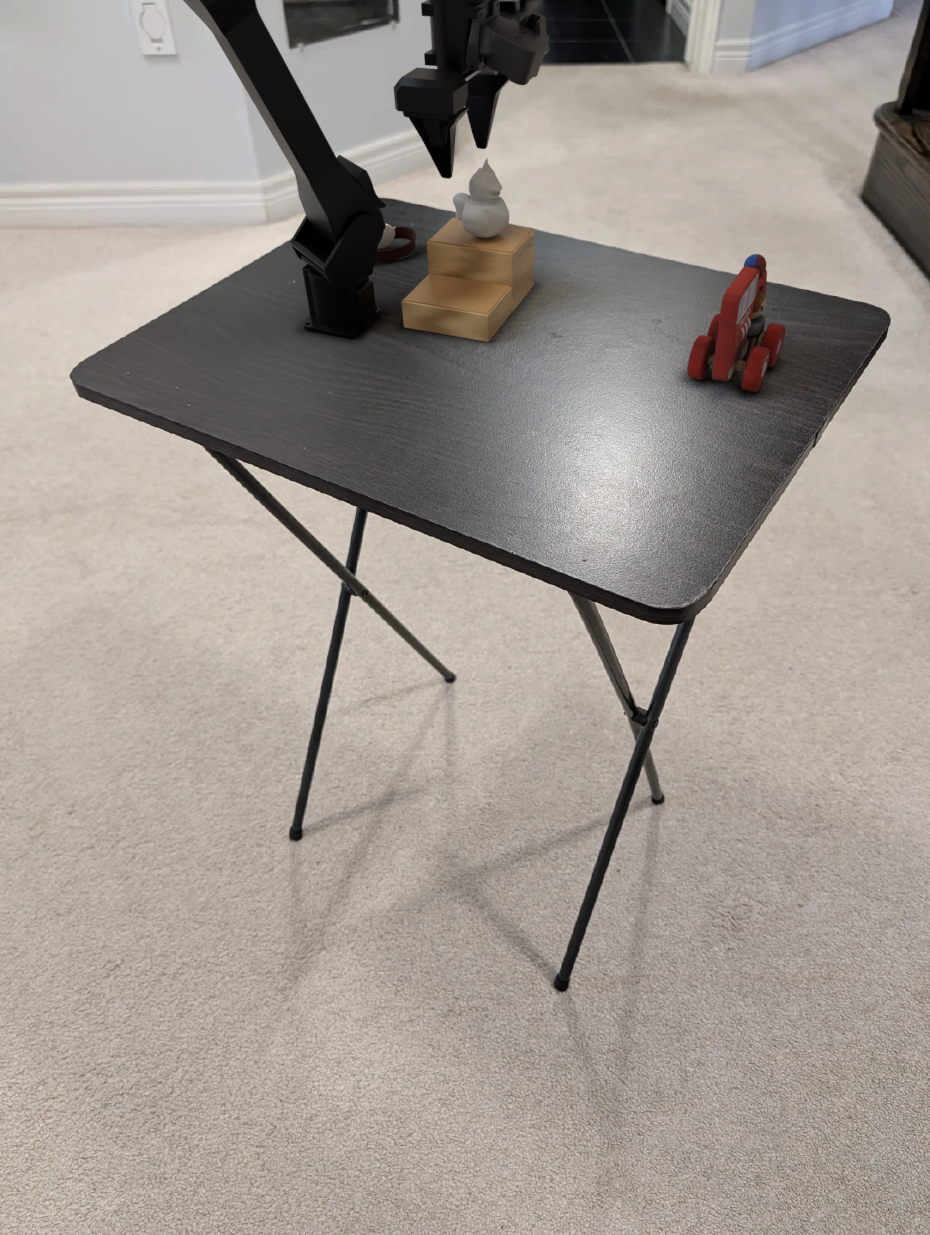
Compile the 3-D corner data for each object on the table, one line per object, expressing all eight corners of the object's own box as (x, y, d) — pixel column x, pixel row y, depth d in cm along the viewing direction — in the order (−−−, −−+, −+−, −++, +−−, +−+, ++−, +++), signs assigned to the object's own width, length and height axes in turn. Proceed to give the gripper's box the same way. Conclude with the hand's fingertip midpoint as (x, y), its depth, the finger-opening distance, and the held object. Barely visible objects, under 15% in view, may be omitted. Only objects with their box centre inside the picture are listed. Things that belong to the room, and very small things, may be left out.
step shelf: (403, 327, 97) (397, 267, 92) (455, 273, 106) (452, 216, 101) (488, 342, 94) (487, 281, 89) (534, 285, 103) (535, 227, 98)
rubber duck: (495, 249, 94) (494, 169, 89) (442, 238, 97) (438, 159, 91) (519, 230, 97) (519, 151, 92) (467, 220, 100) (464, 143, 94)
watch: (408, 241, 112) (406, 212, 110) (423, 255, 109) (421, 225, 107) (351, 255, 110) (347, 225, 108) (365, 269, 107) (361, 239, 105)
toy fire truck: (785, 348, 91) (809, 246, 83) (749, 408, 83) (772, 302, 76) (719, 334, 93) (736, 234, 86) (678, 391, 86) (693, 287, 78)
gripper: (499, 14, 75) (501, 204, 86) (572, -31, 87) (565, 141, 98) (383, 7, 79) (399, 191, 90) (468, -35, 90) (473, 132, 102)
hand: (464, 162), depth 95 cm, fingers open, 9 cm apart
